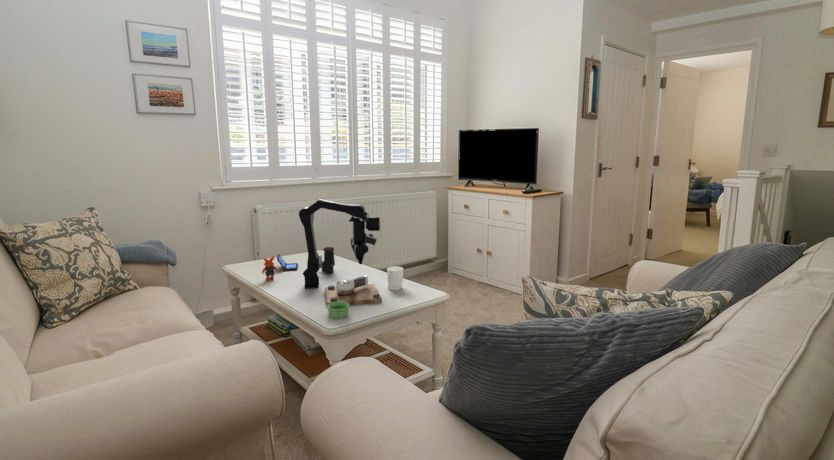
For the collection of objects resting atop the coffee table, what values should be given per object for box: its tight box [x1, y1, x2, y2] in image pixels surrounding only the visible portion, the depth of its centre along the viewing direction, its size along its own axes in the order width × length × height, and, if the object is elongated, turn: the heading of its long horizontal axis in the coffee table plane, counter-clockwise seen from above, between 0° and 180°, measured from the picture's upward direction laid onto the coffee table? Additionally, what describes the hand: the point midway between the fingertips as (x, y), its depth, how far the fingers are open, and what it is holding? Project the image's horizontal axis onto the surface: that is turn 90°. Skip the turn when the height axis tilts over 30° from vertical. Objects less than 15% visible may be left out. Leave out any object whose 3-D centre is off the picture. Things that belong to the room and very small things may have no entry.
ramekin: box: [326, 302, 350, 320], centre depth 188 cm, size 9×9×4 cm
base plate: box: [324, 283, 383, 306], centre depth 209 cm, size 24×21×3 cm
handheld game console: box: [276, 253, 299, 272], centre depth 254 cm, size 12×11×7 cm
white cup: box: [386, 265, 404, 291], centre depth 221 cm, size 8×8×10 cm
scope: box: [320, 246, 336, 275], centre depth 246 cm, size 8×14×10 cm
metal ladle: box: [336, 274, 369, 296], centre depth 211 cm, size 17×8×6 cm, turn 139°
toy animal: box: [261, 256, 278, 282], centre depth 234 cm, size 8×5×12 cm
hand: (359, 261), depth 221 cm, fingers open, 9 cm apart
